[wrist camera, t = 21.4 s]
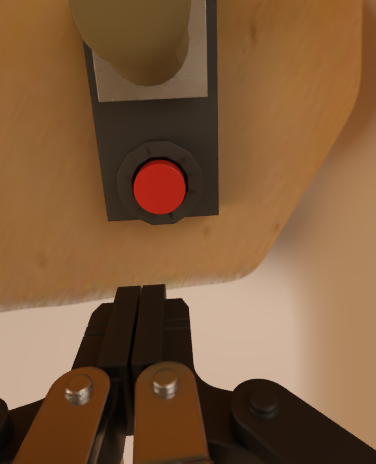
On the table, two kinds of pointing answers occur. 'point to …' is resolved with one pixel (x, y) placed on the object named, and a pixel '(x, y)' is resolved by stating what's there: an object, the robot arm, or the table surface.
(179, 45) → the olive pawn piece
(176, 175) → the button
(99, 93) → the plate
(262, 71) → the table surface
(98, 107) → the machine
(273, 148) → the table surface
